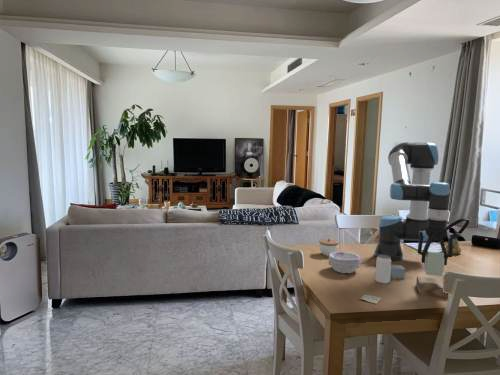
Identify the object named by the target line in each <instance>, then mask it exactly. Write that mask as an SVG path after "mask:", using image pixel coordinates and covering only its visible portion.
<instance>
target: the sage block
mask: <svg viewBox="0 0 500 375" xmlns="http://www.w3.org/2000/svg"><path fill="white" fill-rule="evenodd" d="M426 255H427V267H426V271H424V272H425V274H426V275H427V276H437V277H443V273H444V272H443V259H444V253H443V251H442V249H441V248H440V249H438V248H429V249H428V251H427V253H426ZM442 272H443V273H442Z"/></svg>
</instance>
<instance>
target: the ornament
mask: <svg viewBox="0 0 500 375" xmlns="http://www.w3.org/2000/svg"><path fill="white" fill-rule="evenodd" d="M445 249H446V252H447V254H448V243H447V244H445ZM461 253H462V248H461V247H460V244H459V240H458V237H456V236H454V238H453V255H460V254H461Z"/></svg>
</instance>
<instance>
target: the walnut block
mask: <svg viewBox="0 0 500 375" xmlns="http://www.w3.org/2000/svg"><path fill="white" fill-rule="evenodd" d="M443 279H444V278H443ZM443 279H442V278H434V277H426V276H425V277H424V276H416V283H415V286H416V288H417V290H418V294H419V295H422V294H424V295H423V296H430V295H432V297H438V296H445V297H444V298H446V297H448V298H449V295H450V293H445V292H443Z"/></svg>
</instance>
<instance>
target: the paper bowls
mask: <svg viewBox="0 0 500 375" xmlns="http://www.w3.org/2000/svg"><path fill="white" fill-rule="evenodd" d="M328 265H329V266H331V268H332V269H333V271H335V272H336V271H337V273H339V272H340V273H339V274H345V273H348V274H353V273H355V271H356V270H357V269H359V268H361V267H360V266H361V256H360V255H358V254H357V253H353V252H349V251H348V252H347V251H337V252H333V253H330V254H329V256H328Z"/></svg>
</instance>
